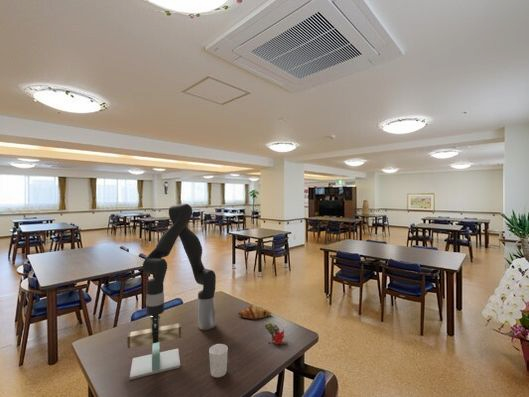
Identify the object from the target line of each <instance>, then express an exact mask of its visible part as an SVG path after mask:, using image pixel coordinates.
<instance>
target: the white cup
mask: <svg viewBox="0 0 529 397" xmlns="http://www.w3.org/2000/svg"><path fill="white" fill-rule="evenodd" d="M228 349H229V348H228V345H226V344H224V343H216V344H213V345H211V347H209V350H208V355H209V356H208V357H209V358H208V359H209V368H210V375H211V376H212V377H214V378H221V377H224V376H225V375H226V374H227V372H228V368H227V367H228V351H229V350H228Z"/></svg>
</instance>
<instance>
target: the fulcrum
mask: <svg viewBox="0 0 529 397" xmlns="http://www.w3.org/2000/svg"><path fill="white" fill-rule="evenodd" d="M151 346H152V351H151V354H146V355H141V356H138V357H137V356H136V357H133V358H132V362H131V368H130V374H129V380H134V379H140V378H143V377H146V376H150V375H154V374H158V373H164V372H167V371H172V370H175V369H179V368H181V361H180V360H181V359H180V351H179V348H175V349H174V348H173V349H169V350H165V351H160V350H161V349H160V342H158V343H152V345H151Z"/></svg>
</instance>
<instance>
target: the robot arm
mask: <svg viewBox="0 0 529 397" xmlns="http://www.w3.org/2000/svg"><path fill="white" fill-rule="evenodd" d="M192 216H193V209H192V206H191V205H190V204H188V203H181V204H174V205H171V206H169V209H168V217H169V219H170V221H171V223H172V225H171V226H170V227H169V228H168V229H167V230H166V231H165V232H164V233H163V234H162V236H161V237H160V239H159V240H158V242H157V244H156V246H155V247H154V249H153V250H152V251H151V252H150V253H149V254H148V255H147V256H146V257H145V259H144V260H143V262H142V271H143V272H144V273H145V274H147V275H154V278H150V279H148V280H147V281H146V298H145V304H146V305H145V309H146V310H145V313H146V315H147V316H149V317H150V324H151V325H150V329H151V330H152V336H153V343H158V334H159V332H158V329H159V327H161V326H160V324H161V314H163V313H164V312H165V293H164V282H165V277H166V273H167V269H168V262H167V261H166V259H164V258H166V257H168V256H169V255H170V253H171V252H172V249H173V247H174V246H175V243H176V241H177V239H178V238H179V239H180V241H181V244H182V247H183V250H184V252H185V254H186V257H187V260H188V262H189V264H190V267H191V270H192V273H193V277H194V280H195V282H196V283H197V284H198V285H201V286H202V289H201V290H200V291H198V292H197V293H198V294H197V310H198V311H197V319H198V320H197V321H198V322H197V323H198V324H197V325H198V329H200V330H202V331H206V330H211V329H213V328H216V309H215V293H216V284H217V283H216V281H217V277H216V273H215V271H214V270H212V269H207V268H205V266H204V264H203V262H202V256H203V247H202V244H201V241H200V239H199V237H198V236H197V235H196V233H194V232H193V231H192V230H191V229H190V228H189V227H188V225H187V224H188V223H189V222H190V220H191V219H192ZM154 331H157V332H154ZM153 343H152V344H153Z"/></svg>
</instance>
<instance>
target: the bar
mask: <svg viewBox="0 0 529 397" xmlns="http://www.w3.org/2000/svg"><path fill="white" fill-rule="evenodd" d="M154 332H157V331H154ZM158 332H159V334H158V342H159V343H161V342H167V341H172V340H176V339H182V324H181V323H179V322H178V323H174V324H169V325H162V326H160V327H159V329H158ZM127 333H128V334H127V337H126V338H127V349H131V348H132V349H133V348H137V347H142V346H147V345H151V344H152V345H153V336H152V330H151V328H146V329H140V330H135V331H129V332H127Z"/></svg>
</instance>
